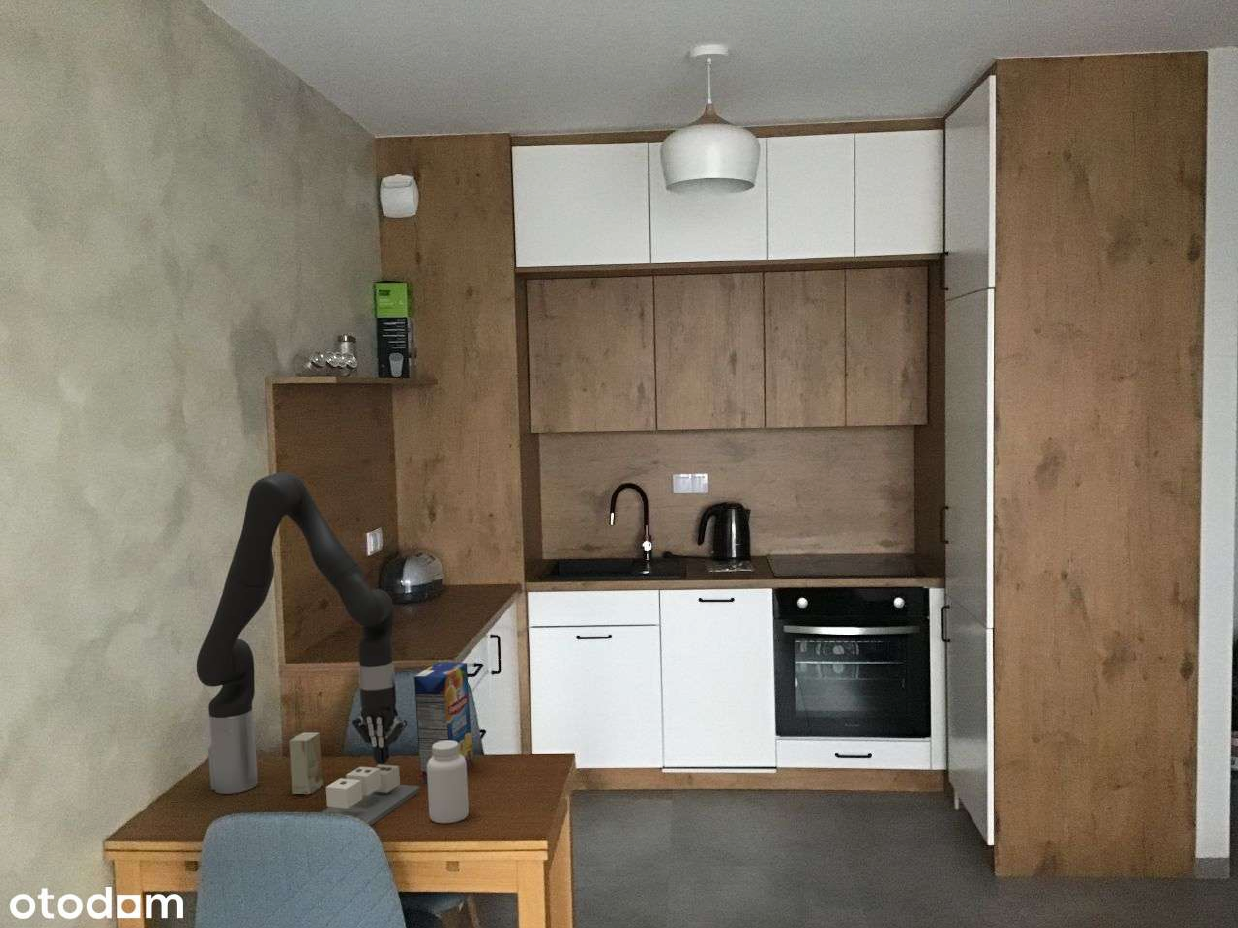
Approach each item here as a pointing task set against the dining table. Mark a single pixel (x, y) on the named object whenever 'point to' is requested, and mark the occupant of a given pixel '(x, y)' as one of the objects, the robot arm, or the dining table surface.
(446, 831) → the dining table surface
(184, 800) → the dining table surface
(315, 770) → the skincare box
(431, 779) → the pill bottle
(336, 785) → the key
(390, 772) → the key
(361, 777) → the key
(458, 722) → the juice carton
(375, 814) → the grey rectangular board
